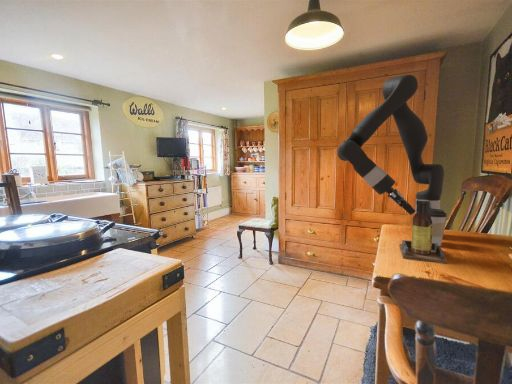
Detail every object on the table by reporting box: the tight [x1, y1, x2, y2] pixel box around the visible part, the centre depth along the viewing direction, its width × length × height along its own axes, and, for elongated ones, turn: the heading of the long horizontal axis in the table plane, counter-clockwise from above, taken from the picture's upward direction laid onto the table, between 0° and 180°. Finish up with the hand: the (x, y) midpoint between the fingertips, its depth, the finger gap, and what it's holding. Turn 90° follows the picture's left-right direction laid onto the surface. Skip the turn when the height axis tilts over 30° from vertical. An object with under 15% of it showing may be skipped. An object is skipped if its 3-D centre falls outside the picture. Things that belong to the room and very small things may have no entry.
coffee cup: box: [429, 208, 447, 247], centre depth 104 cm, size 9×9×15 cm
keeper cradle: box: [398, 239, 448, 265], centre depth 94 cm, size 14×13×8 cm
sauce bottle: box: [411, 200, 432, 255], centre depth 92 cm, size 6×6×20 cm
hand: (411, 210), depth 93 cm, fingers open, 8 cm apart
